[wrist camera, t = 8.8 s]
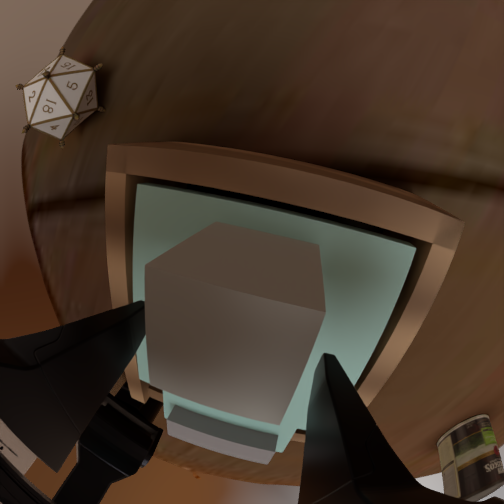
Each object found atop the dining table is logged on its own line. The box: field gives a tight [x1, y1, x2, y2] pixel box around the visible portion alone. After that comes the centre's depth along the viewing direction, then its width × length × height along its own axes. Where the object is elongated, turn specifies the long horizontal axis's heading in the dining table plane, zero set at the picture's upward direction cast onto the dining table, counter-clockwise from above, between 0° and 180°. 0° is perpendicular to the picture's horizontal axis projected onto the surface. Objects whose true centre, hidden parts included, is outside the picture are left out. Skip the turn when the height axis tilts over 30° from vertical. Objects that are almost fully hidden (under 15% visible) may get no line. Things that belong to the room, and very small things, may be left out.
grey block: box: [145, 222, 326, 425], centre depth 10 cm, size 5×5×6 cm
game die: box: [16, 46, 105, 149], centre depth 16 cm, size 9×8×10 cm
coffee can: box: [437, 414, 504, 502], centre depth 19 cm, size 10×10×14 cm
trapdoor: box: [133, 183, 416, 464], centre depth 14 cm, size 18×14×3 cm
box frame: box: [105, 141, 465, 442], centre depth 19 cm, size 22×18×8 cm
